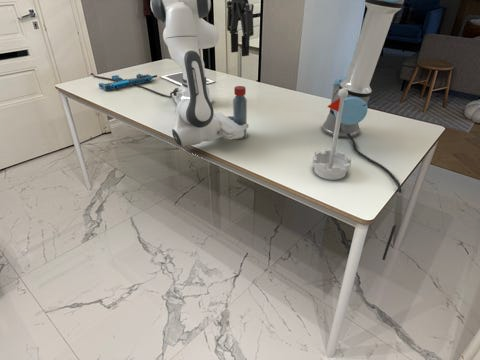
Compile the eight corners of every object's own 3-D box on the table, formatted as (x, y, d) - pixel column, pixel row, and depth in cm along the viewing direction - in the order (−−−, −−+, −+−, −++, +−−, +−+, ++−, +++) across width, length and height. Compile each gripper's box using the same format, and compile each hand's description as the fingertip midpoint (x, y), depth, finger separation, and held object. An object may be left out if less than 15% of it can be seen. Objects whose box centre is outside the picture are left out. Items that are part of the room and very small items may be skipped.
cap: (238, 96, 133) (238, 90, 131) (232, 93, 136) (232, 87, 135) (247, 94, 135) (247, 88, 133) (241, 91, 138) (241, 85, 137)
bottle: (237, 140, 142) (237, 91, 131) (231, 135, 146) (230, 87, 135) (249, 137, 145) (249, 89, 133) (242, 132, 149) (242, 85, 137)
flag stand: (334, 159, 128) (348, 80, 112) (356, 176, 118) (375, 92, 101) (304, 166, 124) (314, 84, 108) (324, 184, 114) (338, 97, 97)
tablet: (160, 77, 218) (160, 76, 218) (186, 71, 229) (186, 70, 229) (187, 89, 198) (187, 88, 198) (215, 82, 209) (215, 81, 209)
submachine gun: (143, 68, 224) (161, 74, 208) (144, 74, 226) (162, 80, 210) (91, 78, 206) (107, 86, 189) (92, 84, 208) (108, 92, 191)
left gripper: (224, 131, 127) (255, 123, 133) (201, 113, 142) (229, 106, 148) (225, 145, 131) (255, 137, 137) (202, 127, 145) (229, 120, 151)
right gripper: (265, -16, 109) (263, 57, 122) (233, -19, 123) (234, 47, 136) (246, -16, 106) (246, 60, 118) (215, -18, 120) (218, 50, 132)
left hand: (241, 121), depth 142 cm, fingers open, 8 cm apart
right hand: (239, 53), depth 127 cm, fingers open, 7 cm apart
